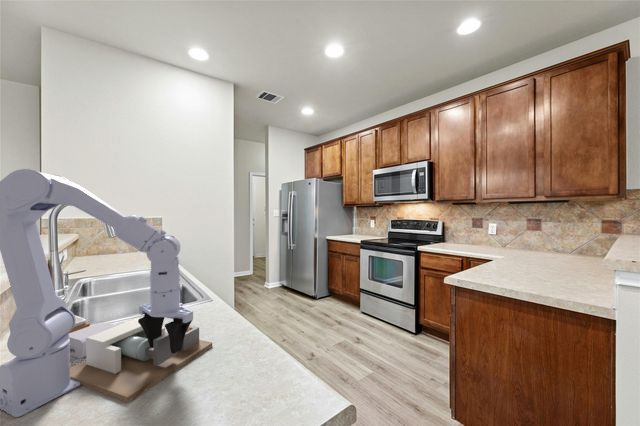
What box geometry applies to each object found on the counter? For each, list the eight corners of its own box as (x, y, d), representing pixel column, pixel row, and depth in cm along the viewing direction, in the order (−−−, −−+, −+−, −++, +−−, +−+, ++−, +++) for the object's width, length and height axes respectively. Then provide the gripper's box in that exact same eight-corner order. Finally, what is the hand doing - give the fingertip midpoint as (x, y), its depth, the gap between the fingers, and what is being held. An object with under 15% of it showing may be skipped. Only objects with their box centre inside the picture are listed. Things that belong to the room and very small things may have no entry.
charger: (142, 333, 79) (82, 360, 65) (121, 328, 82) (60, 353, 68) (142, 317, 79) (82, 340, 65) (121, 313, 82) (60, 334, 68)
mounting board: (127, 402, 50) (127, 397, 50) (59, 377, 58) (59, 372, 58) (212, 346, 71) (212, 342, 71) (153, 333, 78) (153, 329, 78)
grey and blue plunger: (157, 371, 58) (157, 340, 58) (107, 356, 63) (107, 328, 63) (177, 359, 62) (176, 330, 62) (128, 346, 68) (128, 320, 68)
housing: (135, 380, 55) (135, 350, 55) (86, 364, 61) (86, 337, 61) (199, 342, 71) (199, 319, 71) (155, 332, 77) (155, 311, 77)
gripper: (203, 287, 61) (203, 345, 61) (158, 281, 66) (159, 335, 66) (177, 297, 55) (178, 362, 55) (129, 289, 60) (130, 349, 60)
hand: (165, 348), depth 60 cm, fingers open, 6 cm apart
